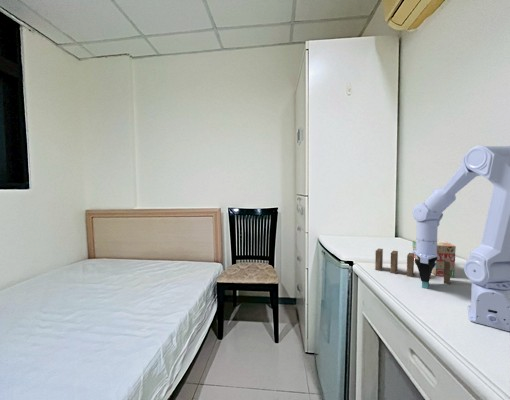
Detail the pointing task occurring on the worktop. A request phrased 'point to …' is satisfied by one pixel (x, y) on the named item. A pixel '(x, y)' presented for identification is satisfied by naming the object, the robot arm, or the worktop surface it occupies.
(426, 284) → the teal domino
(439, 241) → the stack of blocks
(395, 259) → the walnut domino
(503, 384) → the worktop surface
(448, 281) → the walnut domino
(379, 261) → the walnut domino
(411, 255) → the walnut domino
